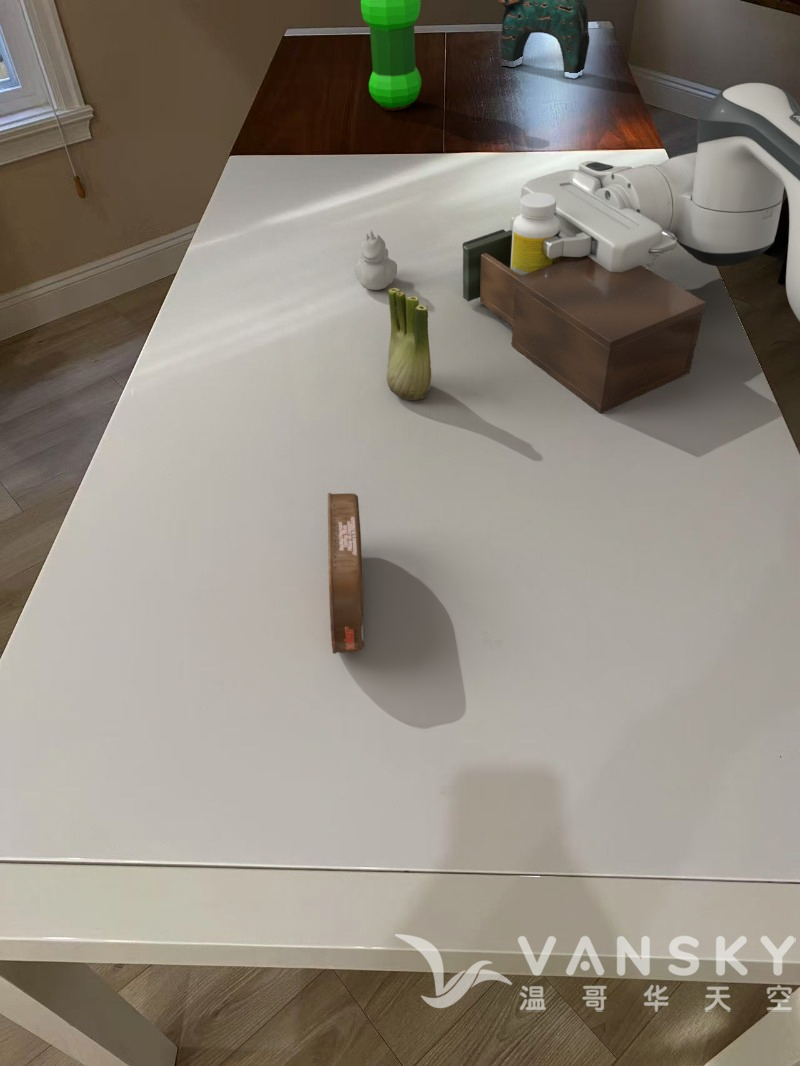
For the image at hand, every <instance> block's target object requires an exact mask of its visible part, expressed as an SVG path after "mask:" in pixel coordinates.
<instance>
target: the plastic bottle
mask: <svg viewBox="0 0 800 1066" xmlns="http://www.w3.org/2000/svg"><path fill="white" fill-rule="evenodd" d="M421 1H422V0H360V12H361V15H362V19H363V21H364V22H365V23H366V24H367V25H368V26H369V33H370V49H371V50H370V51H371V62H372V63H371V64H372V72H371V74H370V78H369V81H368V90H369V94H370V96H371V98H372V99H373V100H374V101H375V103H377V104H378V105H379V104H380V105H379V106H381V107H382V106H383V107H386V108H397V107H404V106H407V105H409V104H411V103H412V104H413V103H414V102H415V101H416V100H417V99H418V97H419V94H420V92H421V88H422V77H421V74H420V71H419V70H418V68H417V66H416V64H417V63H416V39H415V37H416V36H415V22H416V21H417V20H418V18H419V15H420V14H421V13H420V12H421V6H422V3H421ZM412 104H411V105H412Z"/></svg>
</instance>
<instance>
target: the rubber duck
mask: <svg viewBox="0 0 800 1066" xmlns="http://www.w3.org/2000/svg"><path fill="white" fill-rule="evenodd" d="M354 272H355V276H356V278H357V280H358V281H359V284H360V286H361V287H363V288H365V289H368V290H372V291H380V290H383V289H386V288H387V287H388V286H389V285H390V284H392V283H393V281H394V280H395V279H396V277H397V274H398V264H397V262H396V261H395V260H394V259H391V258H390V257H389V250H388V248H387V245H386V242H385V240H384V239H383V238H382V237H381V236H380V235H379V234H377V236H375V234H374V233H373V231H372V229H370V231H369V234H368V233H366V234H365V237H364V239H363V242H362V243H361V257H360V258H359V259H358V260H357V261H356V263H355V265H354Z"/></svg>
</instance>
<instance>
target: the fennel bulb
mask: <svg viewBox="0 0 800 1066" xmlns="http://www.w3.org/2000/svg"><path fill="white" fill-rule="evenodd" d="M387 294H388V303H389V304H388V305H389V312H390V313H389V314H390V336H389V345H388V363H387V371H386V382H387V383H386V384H387V386H388V388H389V390H390V391H391V392H392V393H393V394H394V395H395V396H397V397H399V398H401V399H403V400H407V401H418V400H419V401H420V400H423V399H425V398H426V396H427V394H428V392H429V390H430V386H431V383H432V367H431V364H432V361H431V352H430V340H429V310H428V309H429V308H428V306H427V305H425V304H420V303H419V302H420V301H419V297H417V296H411V295H410V296H408V297H407V296H406V293H405V292H404V291H402V290H401V289H399V288H398V287H391V288H390V289H388V291H387Z"/></svg>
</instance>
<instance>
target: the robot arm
mask: <svg viewBox="0 0 800 1066" xmlns="http://www.w3.org/2000/svg"><path fill="white" fill-rule="evenodd" d="M696 144H697V150H696V151H695V152H690V153H685V154H681V155H676V156H674V157H671V158H668V159H667V160H665V161H663V162H662V163H660V164H651V163H649V164H642V165H640V166H636V167H632V166H626V165H625V166H617V165H612V164H607V163H603V162H598V161H595V160H588V161H584V162H581V163H580V164H579V165H578V169H564V170H560V171H556V172H552V173H548V174H545V175H542V176H538V177H536V178H532V179H530V180H528V181H526V182H525V184H523V186H522V187H521V191H520V199H521V198H522V197H523V196H525V195H527V194H530V193H547V194H550V195H553V196H554V197H555V198H556V211H555V214H554V215H555V216H556V217H557V218H558V219H559V221H560V235H559V238H558V237H557V236H554V237H551V238H547V239H545V240H544V241H543V244H542V246H543V248H542V253H543V254H545V255H546V256H547V257H549V258H550V259H553V258H556V257H560V256H567V257H582V256H586V255H587V256H588V257H590V258H591V259H593V260H594V261H595V262H597V263H598V264H600V265H601V266H603V267H604V268H605V269H607V270H608V271H610V272H624V271H627V270H629V269H632V268H635V267H637V266H640V265H641V266H643V267H645V266H646V265H649V264H650V263H652V262H654V261H655V260H657V258H658V257H659V255H661V254H666V253H668V252H671V251H673V250H674V249H675V248H676V246H677V244H678V245H679V246H680V247H681V248H683V250H685V251H686V252H687V253H688V254H689V255H691V256H692V258H694V259H696V260H697V261H699V262H701V263H703V264H706V265H709V266H713V267H727V266H734V265H739V264H743V263H746V262H749V261H751V260H752V259H754V258H757V257H758V256H760V255H761V254H763V253H765V252H766V251H767V250H769V248H770V247H771V246H772V245H773V244H774V243H775V238H776V235H777V231H778V228H779V221H780V216H781V211H782V205H783V200H784V199H783V196H784V191H785V192H786V197H787V202H788V214H789V215H788V220H789V221H788V223H789V224H788V226H789V227H788V244H787V257H786V269H785V270H786V271H785V272H786V273H785V292H786V296H787V300H788V303H789V306H790V309H791V310H792V312H793V314H794V316H795V318H796V319H797V320H798V322H799V323H800V105H799V104H798V102H797V101H796V99H795V98H794V97H793V96H792V95H791V94H790V93H789V92H788V91H786V90H785V89H784V88H782V87H780V86H776V85H772V84H768V83H762V82H747V83H746V82H745V83H739V84H733V85H730V86H727V87H725V88H724V89H722V90H721V91H720V92H718V93H717V94H716V95H715V96H714V97H713V98H712V99H711V101H709V103H707V105H706V106H705V107H704V108H703V110H702V111H701V112H700V114H698V116H697V131H696ZM519 215H520V214H517V215H514V216H512V217H511V219H510V226H509V230H511V231H513V222H514V220H515V219H516V217H517V216H519Z"/></svg>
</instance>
